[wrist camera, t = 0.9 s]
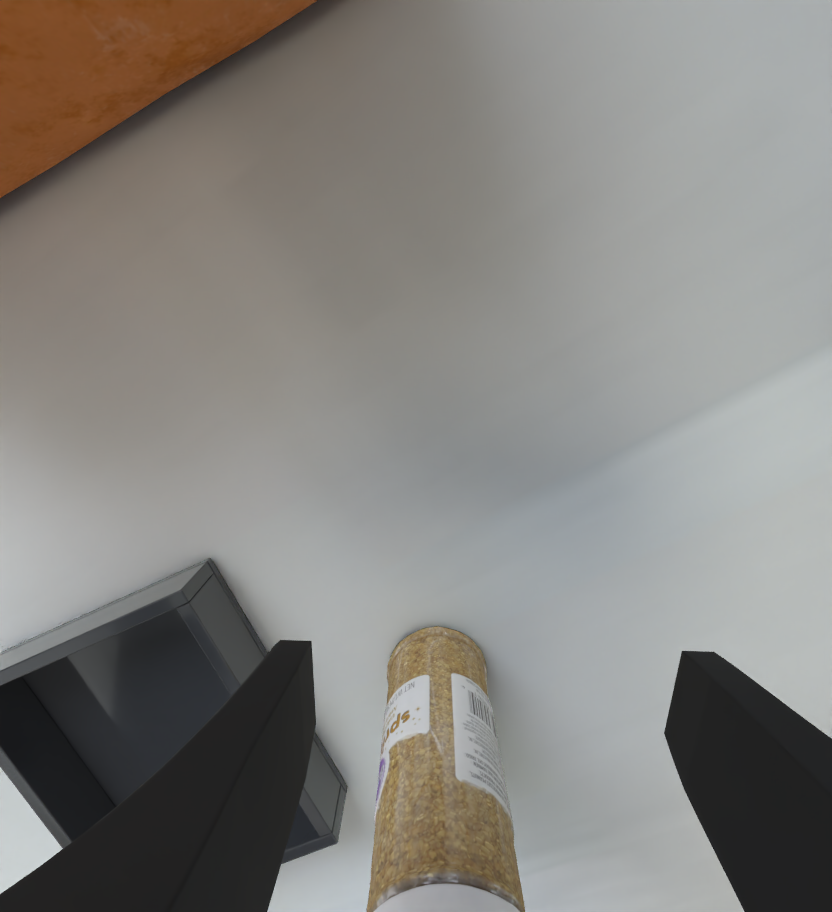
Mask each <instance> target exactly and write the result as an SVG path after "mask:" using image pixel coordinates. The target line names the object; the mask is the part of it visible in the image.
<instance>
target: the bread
mask: <svg viewBox="0 0 832 912" xmlns="http://www.w3.org/2000/svg"><path fill="white" fill-rule="evenodd" d="M316 1H318V0H0V198H1V197H3V196H4V195H6V194H8V193H9V192H11V191H13V190H14V189H16V188H18V187H19V186H21V185H23V184H24V183H26V182H28V181H30V180H31V179H33V178H35V177H36V176H38V175H40V174H41V173H43V172H45V171H46V170H48V169H50V168H51V167H53V166H55V165H56V164H58V163H59V162H61V161H62V160H64V159H66V158H67V157H69V156H70V155H72V154H73V153H75V152H76V151H78V150H79V149H81V148H83V147H84V146H86V145H87V144H89V143H90V142H92V141H93V140H95V139H96V138H98V137H100V136H101V135H103V134H104V133H106V132H107V131H109V130H110V129H112V128H113V127H115V126H117V125H118V124H120V123H121V122H123V121H124V120H126V119H127V118H129V117H130V116H132V115H134V114H135V113H137V112H138V111H140V110H141V109H143V108H144V107H146V106H147V105H149V104H150V103H152V102H154V101H155V100H157V99H158V98H160V97H161V96H163V95H164V94H166V93H168V92H169V91H171V90H173V89H175V88H176V87H178V86H180V85H181V84H183V83H185V82H186V81H188V80H190V79H191V78H193V77H195V76H197V75H198V74H200V73H202V72H203V71H205V70H207V69H208V68H210V67H212V66H214V65H215V64H217V63H219V62H220V61H222V60H224V59H225V58H227V57H229V56H230V55H232V54H234V53H236V52H237V51H239V50H241V49H242V48H244V47H246V46H247V45H249V44H251V43H253V42H254V41H256V40H257V39H259V38H260V37H262V36H264V35H265V34H267V33H268V32H270V31H271V30H273V29H274V28H276V27H277V26H279V25H281V24H282V23H284V22H285V21H287V20H288V19H290V18H291V17H293V16H294V15H296V14H298V13H299V12H301V11H302V10H304V9H305V8H307V7H308V6H310V5H311V4H313V3H315V2H316Z"/></svg>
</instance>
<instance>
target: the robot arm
mask: <svg viewBox="0 0 832 912" xmlns="http://www.w3.org/2000/svg"><path fill="white" fill-rule="evenodd" d="M315 726H316V716H315V698H314V680H313V662H312V644H311V641H292V640H280V641H279V642H278V643H277V644H275V646H274V647H273V648H272V649H271V650H270V652H269V653H268V654H267V655H266V656H265V658H264V659H263V660H262V661H261V662H260V663H259V665H258V666H257V667H256V668H255V669H254V671H253V672H252V673H251V674H250V675H249V676H248V678H247V679H246V680H245V681H244V682H243V683H242V684H241V686H240V687H239V688H238V689H237V690H236V691H235V692H234V693H233V695H232V696H231V697H230V698H229V699H228V700H227V701H226V702H225V703H224V704H223V705H222V706H221V708H220V709H219V710H218V711H217V712H216V713H215V714H214V715H213V716H212V717H211V718H210V720H209V721H208V722H207V723H206V724H205V725H204V726H203V727H202V728H201V729H200V730H199V731H198V732H197V733H196V734H195V735H194V736H193V737H192V738H191V739H190V740H189V741H188V742H187V743H186V744H185V745H184V746H183V747H182V748H181V749H180V750H179V751H178V752H177V753H176V754H175V755H174V756H173V757H172V758H171V759H170V760H168V761H167V762H166V763H165V764H164V765H163V766H162V767H161V768H160V769H159V770H158V771H157V772H156V773H154V774H153V775H152V776H151V777H150V778H149V779H148V780H147V781H146V782H145V783H143V784H142V785H141V786H140V787H139V788H138V789H137V790H135V791H134V792H133V793H132V794H131V795H130V796H128V797H127V798H126V799H125V800H124V801H123V802H122V803H120V804H119V805H118V806H117V807H116V808H114V809H113V810H112V811H111V812H110V813H108V814H107V815H106V816H105V817H103V818H102V819H101V820H100V821H98V822H97V823H96V824H95V825H93V826H92V827H91V828H90V829H88V830H87V831H86V832H85V833H83V834H82V835H81V836H79V837H78V838H77V839H75V840H74V841H73V842H71V843H70V844H69V845H68V846H66V847H65V848H64V849H62V850H61V851H60V852H58V853H57V854H56V855H54V856H53V857H52V858H51V859H49V860H48V861H47V862H45V863H44V864H43V865H41V866H40V867H38V868H37V869H36V870H34V871H33V872H31V873H30V874H29V875H27V876H26V877H24V878H23V879H21V880H20V881H19V882H17V883H16V884H14V885H13V886H11V887H10V888H9V889H7V890H6V891H4V892H3V893H1V894H0V912H267V910H268V907H269V903H270V900H271V897H272V893H273V890H274V886H275V883H276V880H277V876H278V873H279V869H280V866H281V863H282V859H283V856H284V852H285V849H286V845H287V842H288V839H289V835H290V832H291V828H292V825H293V822H294V818H295V815H296V811H297V808H298V804H299V801H300V797H301V794H302V790H303V787H304V783H305V780H306V776H307V770H308V765H309V760H310V754H311V749H312V743H313V737H314V731H315ZM664 734H665V737H666V740H667V743H668V746H669V749H670V752H671V755H672V758H673V760H674V763H675V766H676V769H677V771H678V774H679V777H680V779H681V782H682V785H683V787H684V790H685V792H686V794H687V796H688V798H689V800H690V802H691V804H692V806H693V809H694V811H695V813H696V815H697V817H698V819H699V821H700V823H701V825H702V827H703V829H704V831H705V833H706V835H707V837H708V839H709V841H710V843H711V845H712V847H713V849H714V851H715V853H716V855H717V857H718V859H719V861H720V863H721V865H722V867H723V869H724V871H725V873H726V875H727V877H728V879H729V881H730V883H731V885H732V887H733V889H734V891H735V893H736V895H737V897H738V899H739V901H740V903H741V905H742V907H743V909H744V911H745V912H832V739H831V738H830V737H829V736H827V735H826V734H824V733H823V732H822V731H820V730H819V729H818V728H816V727H815V726H814V725H812V724H811V723H809V722H808V721H807V720H805V719H804V718H803V717H801V716H800V715H799V714H797V713H796V712H795V711H793V710H792V709H791V708H789V707H788V706H787V705H785V704H784V703H783V702H781V701H780V700H779V699H777V698H776V697H775V696H773V695H772V694H771V693H769V692H768V691H767V690H766V689H764V688H763V687H762V686H760V685H759V684H758V683H756V682H755V681H754V680H752V679H751V678H750V677H748V676H747V675H746V674H744V673H743V672H742V671H740V670H739V669H738V668H736V667H735V666H733V665H732V664H731V663H729V662H728V661H726V660H725V659H724V658H722V657H721V656H719V655H718V654H716V653H715V652H699V651H682V654H681V658H680V663H679V668H678V672H677V677H676V681H675V686H674V691H673V695H672V700H671V705H670V709H669V714H668V718H667V723H666V728H665V732H664Z"/></svg>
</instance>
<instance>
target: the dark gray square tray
mask: <svg viewBox="0 0 832 912" xmlns="http://www.w3.org/2000/svg"><path fill="white" fill-rule="evenodd" d="M267 654H268V653H267V651H266V650H265V648H264V646H263V645H262V643H261V641H260V640H259V638H258V636H257V635H256V633H255V631H254V630H253V628H252V626H251V625H250V623H249V621H248V620H247V618H246V616H245V615H244V613H243V611H242V610H241V608H240V606H239V605H238V603H237V601H236V599H235V598H234V596H233V594H232V593H231V591H230V589H229V588H228V586H227V584H226V583H225V581H224V579H223V578H222V576H221V574H220V573H219V571H218V569H217V568H216V566H215V564H214V563H213V561H212V559H211V558H209V559H207V560H204V561H202V562H200V563H198V564H196V565H193V566H191V567H189V568H187V569H185V570H182V571H180V572H178V573H176V574H174V575H171V576H169V577H167V578H165V579H162V580H160V581H158V582H156V583H154V584H151V585H149V586H147V587H145V588H143V589H140V590H138V591H136V592H134V593H132V594H129V595H127V596H125V597H123V598H120V599H118V600H116V601H114V602H112V603H109V604H107V605H105V606H103V607H101V608H98V609H96V610H94V611H92V612H90V613H87V614H85V615H83V616H81V617H78V618H76V619H74V620H72V621H70V622H67V623H65V624H63V625H61V626H59V627H56V628H54V629H52V630H50V631H48V632H45V633H43V634H41V635H39V636H36V637H34V638H32V639H30V640H28V641H25V642H23V643H21V644H19V645H17V646H14V647H12V648H10V649H8V650H6V651H3V652H1V653H0V767H1V768H2V770H3V771H4V772H5V774H6V775H7V776H8V777H9V779H10V780H11V781H12V783H13V784H14V785H15V787H16V788H17V789H18V791H19V792H20V793H21V794H22V796H23V797H24V798H25V800H26V801H27V802H28V804H29V805H30V806H31V808H32V809H33V810H34V812H35V813H36V814H37V815H38V817H39V818H40V819H41V821H42V822H43V823H44V825H45V826H46V827H47V829H48V830H49V831H50V832H51V834H52V835H53V836H54V838H55V839H56V840H57V842H58V843H59V844H60V846H61V847H62V848H63V849H64V848H65V847H66V846H68V845H69V844H70V843H71V842H73V841H74V840H75V839H77V838H78V837H79V836H81V835H82V834H83V833H85V832H86V831H87V830H88V829H90V828H91V827H92V826H93V825H95V824H96V823H97V822H98V821H100V820H101V819H102V818H103V817H105V816H106V815H107V814H108V813H110V812H111V811H112V810H113V809H114V808H116V807H117V806H118V805H119V804H120V803H122V802H123V801H124V800H125V799H126V798H127V797H128V796H130V795H131V794H132V793H133V792H134V791H135V790H137V789H138V788H139V787H140V786H141V785H142V784H143V783H145V782H146V781H147V780H148V779H149V778H150V777H151V776H152V775H153V774H154V773H156V772H157V771H158V770H159V769H160V768H161V767H162V766H163V765H164V764H165V763H166V762H167V761H168V760H170V759H171V758H172V757H173V756H174V755H175V754H176V753H177V752H178V751H179V750H180V749H181V748H182V747H183V746H184V745H185V744H186V743H187V742H188V741H189V740H190V739H191V738H192V737H193V736H194V735H195V734H196V733H197V732H198V731H199V730H200V729H201V728H202V727H203V726H204V725H205V724H206V723H207V722H208V721H209V720H210V718H211V717H212V716H213V715H214V714H215V713H216V712H217V711H218V710H219V709H220V708H221V706H222V705H223V704H224V703H225V702H226V701H227V700H228V699H229V698H230V697H231V696H232V695H233V693H234V692H235V691H236V690H237V689H238V688H239V687H240V686H241V684H242V683H243V682H244V681H245V680H246V679H247V678H248V676H249V675H250V674H251V673H252V672H253V671H254V669H255V668H256V667H257V666H258V665H259V663H260V662H261V661H262V660H263V659H264V658H265V656H266V655H267ZM346 793H347V785H346V783H345V782H344V780H343V778H342V777H341V775H340V773H339V772H338V770H337V768H336V767H335V765H334V763H333V762H332V760H331V758H330V757H329V755H328V753H327V752H326V750H325V748H324V747H323V745H322V743H321V742H320V740H319V738H318V737H317V735H316V733H315V732H314V737H313V743H312V749H311V754H310V760H309V765H308V770H307V776H306V780H305V783H304V787H303V790H302V794H301V797H300V801H299V804H298V808H297V811H296V815H295V818H294V822H293V825H292V828H291V832H290V835H289V839H288V842H287V845H286V849H285V852H284V856H283V859H282V863H281V864H283V863H286V862H288V861H291V860H294V859H296V858H299V857H302V856H305V855H307V854H310V853H313V852H315V851H318V850H321V849H323V848H326V847H329V846H332V845H334V844H337V843H338V839H339V833H340V827H341V821H342V815H343V809H344V803H345V797H346Z"/></svg>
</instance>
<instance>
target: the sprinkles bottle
mask: <svg viewBox="0 0 832 912" xmlns="http://www.w3.org/2000/svg"><path fill="white" fill-rule="evenodd" d="M387 680H388V683H389V687H388V695H387V707H386V710H385V715H384V722H383V733H382V744H381V758H380V768H379V780H378V790H377V799H376V808H375V826H376V827H375V835H374V847H373V856H372V868H371V882H370V890H369V899H368V905H367V912H525V907H524V901H523V895H522V889H521V883H520V878H519V872H518V866H517V859H516V854H515V849H514V830H513V822H512V816H511V811H510V805H509V800H508V794H507V788H506V783H505V777H504V771H503V765H502V760H501V754H500V749H499V743H498V737H497V731H496V725H495V720H494V714H493V709H492V706H491V703H490V701H489V699H488V694H487V684H486V681H487V668H486V662H485V659H484V657H483V654H482V652H481V650H480V649H479V647H478V646H477V645H476V644H475V643H474V642H473V641H472V640H471V639H470V638H469V637H468V636H466V635H464V634H463V633H461V632H458V631H456V630H452V629H448V628H444V627H438V626H435V627H430V628H424V629H421V630H418V631H417V632H415V633H413V634H411V635H409V636H407V637H406V638H405V639H404V640H402V641H401V642H400V643H399V644H398V645H397V646H396V648H395V649H394V651H393V653H392V655H391V657H390V660H389V662H388V671H387Z"/></svg>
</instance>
